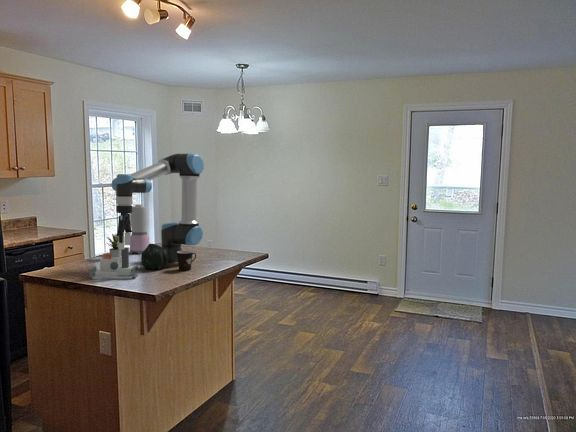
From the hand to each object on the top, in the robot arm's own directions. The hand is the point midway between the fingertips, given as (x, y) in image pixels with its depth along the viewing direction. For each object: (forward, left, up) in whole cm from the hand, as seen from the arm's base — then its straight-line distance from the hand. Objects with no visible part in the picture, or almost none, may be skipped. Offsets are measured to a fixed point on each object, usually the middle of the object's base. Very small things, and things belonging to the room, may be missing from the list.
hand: (124, 247), depth 222 cm
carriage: (0, 0, -14) cm, 14 cm away
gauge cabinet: (+9, -10, -16) cm, 21 cm away
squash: (-12, -21, -16) cm, 29 cm away
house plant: (+17, -50, -16) cm, 55 cm away
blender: (+5, -72, -16) cm, 74 cm away
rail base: (+5, 0, -16) cm, 16 cm away
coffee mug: (-30, -17, -16) cm, 38 cm away
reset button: (+11, -10, -9) cm, 17 cm away
